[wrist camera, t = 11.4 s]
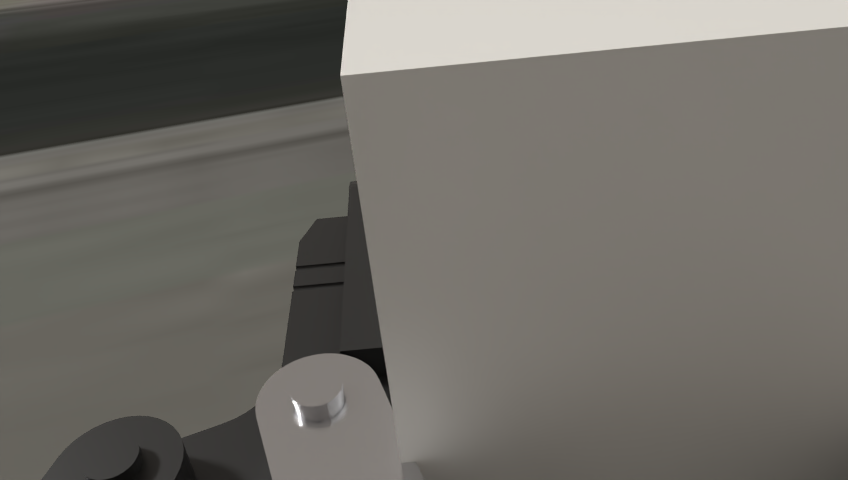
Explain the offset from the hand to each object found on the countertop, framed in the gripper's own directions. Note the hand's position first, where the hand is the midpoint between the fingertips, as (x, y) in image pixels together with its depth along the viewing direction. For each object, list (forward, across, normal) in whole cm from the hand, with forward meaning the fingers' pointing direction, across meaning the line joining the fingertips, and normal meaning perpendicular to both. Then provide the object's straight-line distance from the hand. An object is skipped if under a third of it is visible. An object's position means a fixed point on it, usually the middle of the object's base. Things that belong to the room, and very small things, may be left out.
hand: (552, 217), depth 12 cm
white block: (-3, 0, +7) cm, 8 cm away
